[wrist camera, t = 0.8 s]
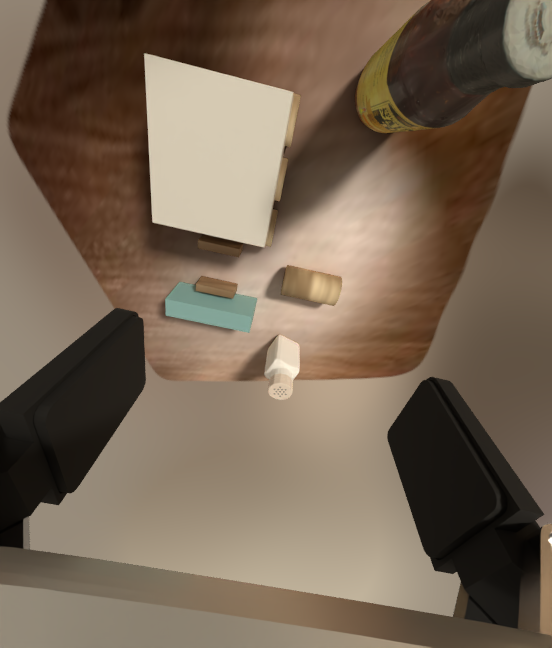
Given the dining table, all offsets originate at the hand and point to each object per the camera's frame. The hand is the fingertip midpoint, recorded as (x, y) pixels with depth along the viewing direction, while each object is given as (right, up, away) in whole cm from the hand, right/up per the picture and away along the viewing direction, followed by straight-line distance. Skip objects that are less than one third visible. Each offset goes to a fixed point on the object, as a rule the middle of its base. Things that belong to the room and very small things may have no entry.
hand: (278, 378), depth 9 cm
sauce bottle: (+10, +24, +17) cm, 31 cm away
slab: (-5, +17, +17) cm, 25 cm away
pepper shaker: (+1, -2, +34) cm, 34 cm away
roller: (+4, +8, +27) cm, 29 cm away
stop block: (-8, +6, +30) cm, 32 cm away
